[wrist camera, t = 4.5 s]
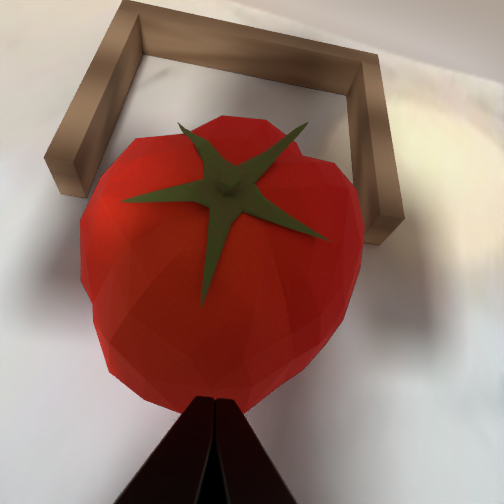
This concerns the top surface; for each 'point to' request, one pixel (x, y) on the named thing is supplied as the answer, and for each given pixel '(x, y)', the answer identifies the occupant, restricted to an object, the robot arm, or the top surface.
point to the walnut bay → (238, 61)
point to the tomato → (218, 261)
